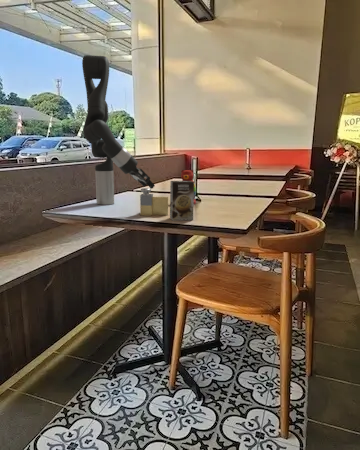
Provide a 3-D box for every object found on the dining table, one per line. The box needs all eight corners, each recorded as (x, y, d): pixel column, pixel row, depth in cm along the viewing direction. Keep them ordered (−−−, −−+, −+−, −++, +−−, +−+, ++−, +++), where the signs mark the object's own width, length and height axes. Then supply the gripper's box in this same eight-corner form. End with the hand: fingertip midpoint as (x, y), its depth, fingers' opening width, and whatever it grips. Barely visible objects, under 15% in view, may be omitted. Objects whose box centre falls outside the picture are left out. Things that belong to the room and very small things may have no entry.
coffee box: (172, 221, 151) (172, 181, 148) (169, 218, 157) (169, 180, 154) (193, 220, 153) (194, 181, 149) (190, 217, 159) (190, 180, 156)
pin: (143, 213, 168) (143, 188, 165) (153, 213, 166) (152, 188, 164) (139, 215, 163) (139, 189, 161) (149, 215, 162) (148, 189, 159)
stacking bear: (174, 203, 197) (174, 170, 193) (180, 200, 206) (180, 169, 202) (194, 204, 194) (194, 170, 190) (198, 201, 203) (199, 169, 199)
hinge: (144, 210, 174) (144, 191, 172) (169, 211, 173) (169, 192, 172) (140, 215, 162) (140, 195, 160) (167, 215, 162) (167, 195, 160)
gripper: (135, 154, 149) (161, 181, 157) (124, 153, 162) (148, 178, 169) (123, 167, 148) (150, 194, 156) (113, 165, 160) (138, 190, 168)
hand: (149, 186), depth 162 cm, fingers open, 8 cm apart
